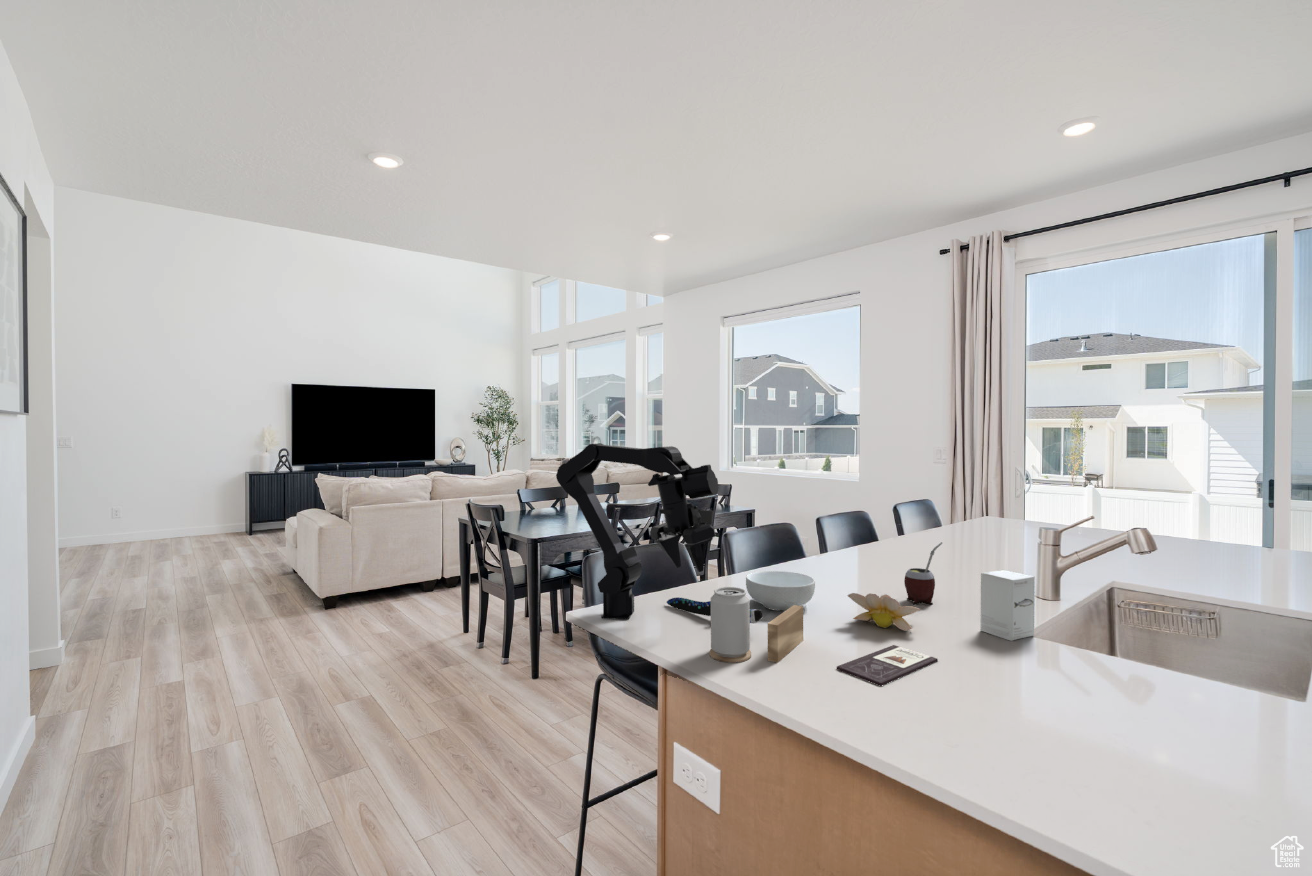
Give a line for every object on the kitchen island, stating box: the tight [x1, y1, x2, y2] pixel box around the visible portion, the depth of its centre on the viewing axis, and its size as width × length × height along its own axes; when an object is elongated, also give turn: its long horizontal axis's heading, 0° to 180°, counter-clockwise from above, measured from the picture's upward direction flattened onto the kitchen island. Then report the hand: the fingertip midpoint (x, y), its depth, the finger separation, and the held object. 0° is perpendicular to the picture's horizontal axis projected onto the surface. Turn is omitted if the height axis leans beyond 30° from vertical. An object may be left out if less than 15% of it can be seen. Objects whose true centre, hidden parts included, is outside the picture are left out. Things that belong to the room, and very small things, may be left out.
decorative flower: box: [847, 592, 922, 632], centre depth 132 cm, size 15×11×10 cm
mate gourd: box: [904, 542, 943, 606], centre depth 150 cm, size 8×8×15 cm
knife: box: [666, 597, 764, 624], centre depth 137 cm, size 31×3×4 cm, turn 37°
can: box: [710, 586, 751, 658], centre depth 116 cm, size 8×8×12 cm
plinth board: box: [767, 605, 804, 664], centre depth 118 cm, size 2×14×7 cm, turn 147°
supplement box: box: [980, 569, 1036, 642], centre depth 126 cm, size 7×7×13 cm
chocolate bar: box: [836, 644, 939, 687], centre depth 110 cm, size 9×1×18 cm
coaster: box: [709, 647, 752, 664], centre depth 116 cm, size 8×8×1 cm
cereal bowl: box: [745, 570, 816, 611], centre depth 147 cm, size 17×17×7 cm
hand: (689, 569), depth 134 cm, fingers open, 9 cm apart
